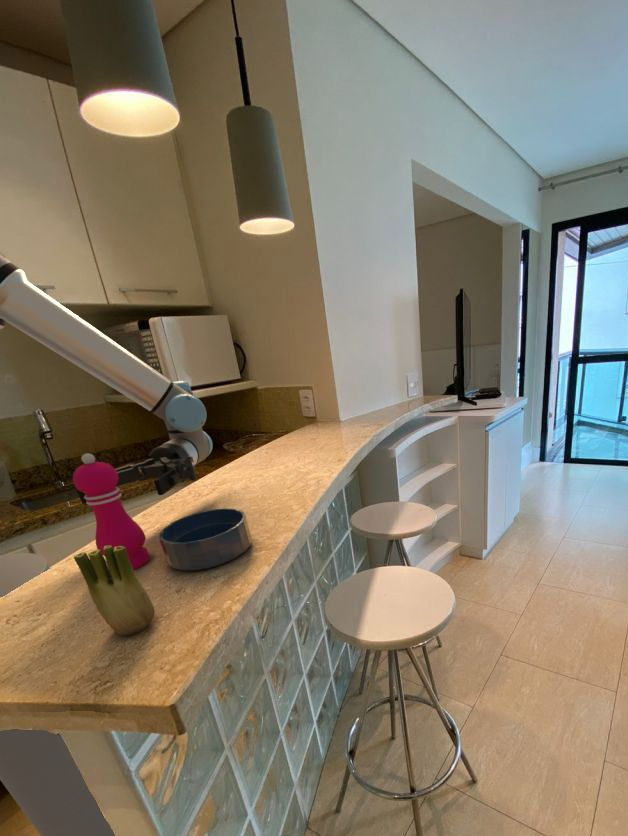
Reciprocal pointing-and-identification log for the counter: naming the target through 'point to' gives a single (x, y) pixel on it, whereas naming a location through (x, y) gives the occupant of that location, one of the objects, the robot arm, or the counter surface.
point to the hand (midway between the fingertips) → (119, 492)
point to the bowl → (205, 539)
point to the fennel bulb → (116, 589)
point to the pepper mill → (110, 510)
